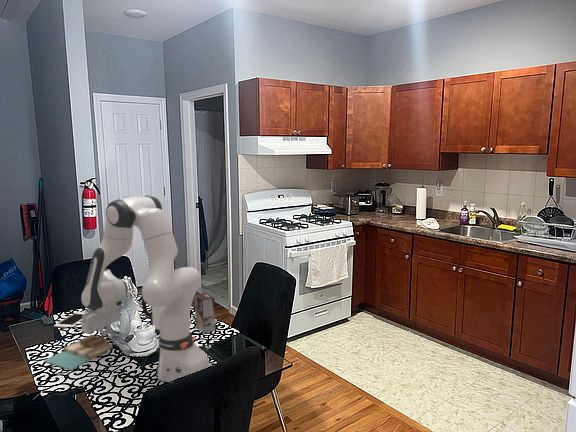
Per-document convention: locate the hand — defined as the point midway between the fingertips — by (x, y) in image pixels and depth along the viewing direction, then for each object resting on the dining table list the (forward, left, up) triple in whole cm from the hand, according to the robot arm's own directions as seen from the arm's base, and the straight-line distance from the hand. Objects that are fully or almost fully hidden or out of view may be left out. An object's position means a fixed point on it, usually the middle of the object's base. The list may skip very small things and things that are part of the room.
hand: (104, 335), depth 186 cm
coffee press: (-13, -22, -4) cm, 26 cm away
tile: (0, +6, -1) cm, 6 cm away
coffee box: (-31, -31, -4) cm, 44 cm away
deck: (0, +9, -3) cm, 9 cm away
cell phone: (+35, -11, -4) cm, 37 cm away
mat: (0, +19, -3) cm, 19 cm away
